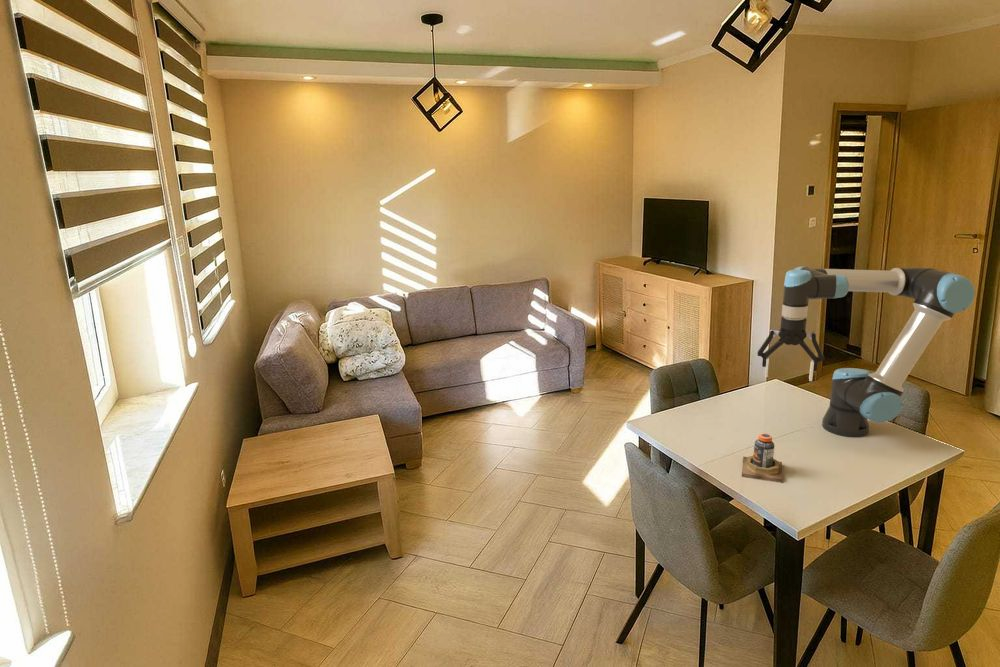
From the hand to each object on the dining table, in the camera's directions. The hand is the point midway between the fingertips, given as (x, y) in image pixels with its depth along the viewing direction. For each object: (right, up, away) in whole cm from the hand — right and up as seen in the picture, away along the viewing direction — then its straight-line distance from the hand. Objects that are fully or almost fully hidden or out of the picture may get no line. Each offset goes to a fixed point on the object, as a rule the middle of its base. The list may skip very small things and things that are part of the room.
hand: (788, 377), depth 205 cm
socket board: (-11, -30, -6) cm, 33 cm away
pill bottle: (-11, -29, -6) cm, 32 cm away
